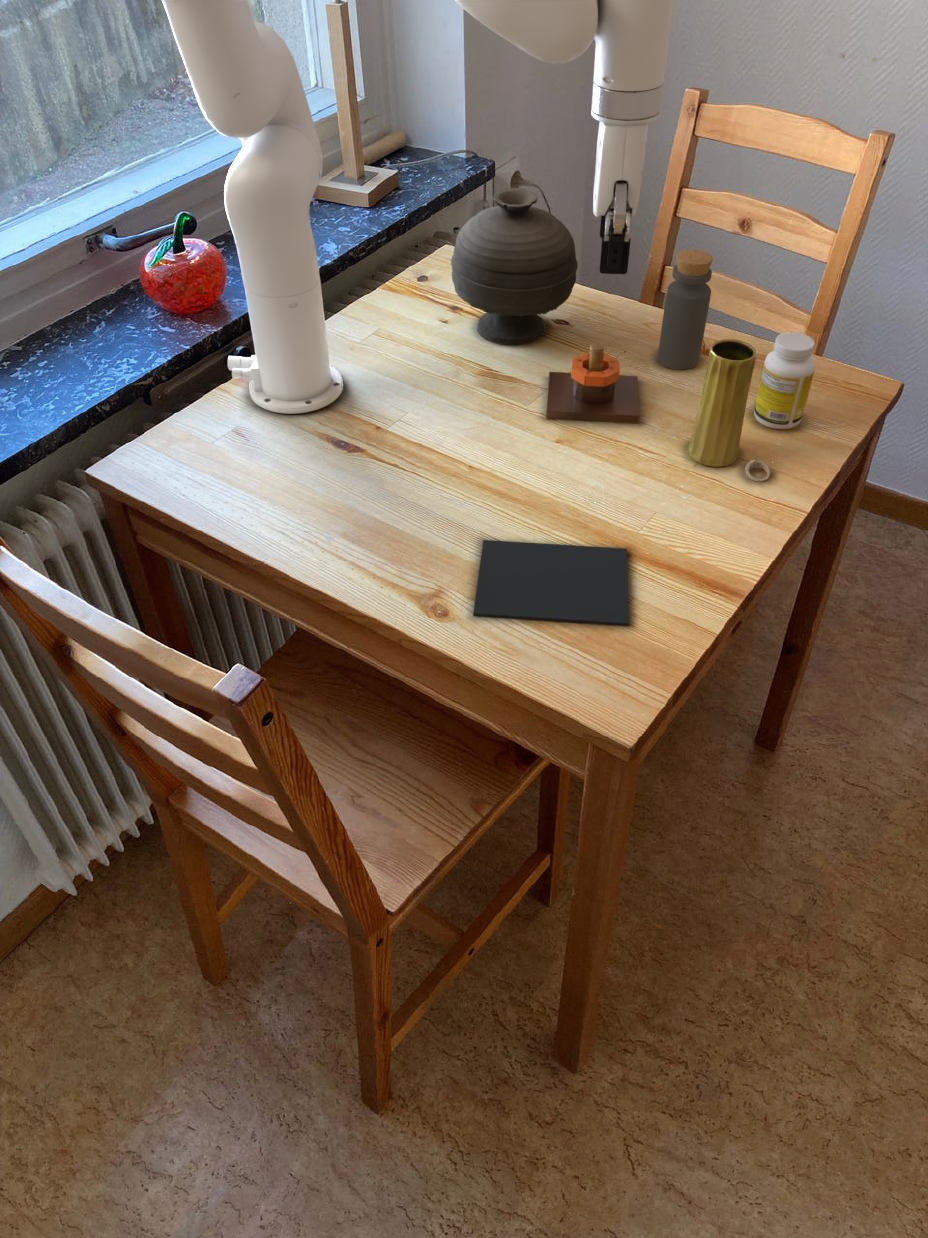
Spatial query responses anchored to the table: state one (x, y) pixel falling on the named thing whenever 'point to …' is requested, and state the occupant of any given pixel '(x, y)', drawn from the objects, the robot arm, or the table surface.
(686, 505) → the table surface
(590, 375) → the orange ring
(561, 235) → the pot
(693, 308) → the bottle
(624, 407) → the stand
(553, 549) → the mat
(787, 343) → the pill bottle
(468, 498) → the table surface
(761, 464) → the ring
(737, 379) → the vase
